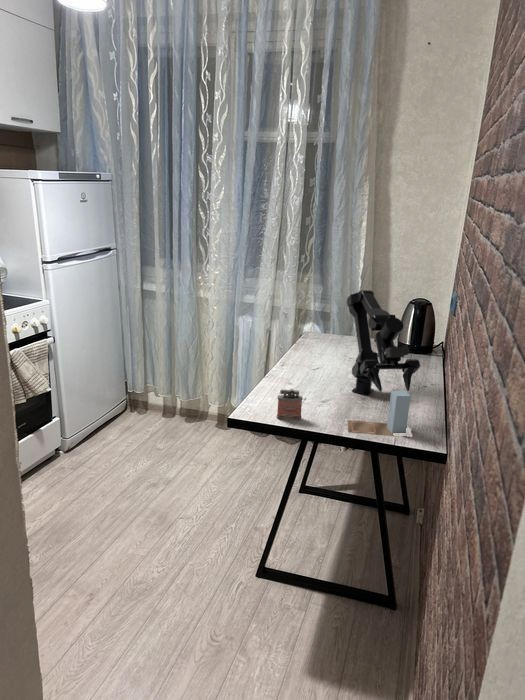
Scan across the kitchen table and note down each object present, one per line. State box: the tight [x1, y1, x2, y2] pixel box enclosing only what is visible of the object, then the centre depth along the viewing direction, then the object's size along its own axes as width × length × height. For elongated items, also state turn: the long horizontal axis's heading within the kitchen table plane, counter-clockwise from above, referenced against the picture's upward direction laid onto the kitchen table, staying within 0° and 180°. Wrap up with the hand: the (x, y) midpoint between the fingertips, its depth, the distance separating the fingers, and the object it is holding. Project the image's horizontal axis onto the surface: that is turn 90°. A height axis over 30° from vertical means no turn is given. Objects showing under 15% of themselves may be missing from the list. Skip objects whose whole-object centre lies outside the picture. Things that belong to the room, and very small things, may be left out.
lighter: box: [276, 388, 303, 421], centre depth 175 cm, size 8×3×10 cm, turn 92°
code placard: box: [346, 419, 395, 437], centre depth 171 cm, size 20×9×1 cm, turn 83°
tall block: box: [386, 390, 411, 433], centre depth 169 cm, size 4×4×12 cm
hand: (394, 390), depth 172 cm, fingers open, 9 cm apart
